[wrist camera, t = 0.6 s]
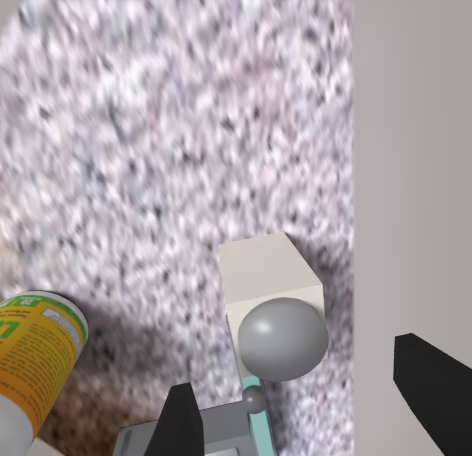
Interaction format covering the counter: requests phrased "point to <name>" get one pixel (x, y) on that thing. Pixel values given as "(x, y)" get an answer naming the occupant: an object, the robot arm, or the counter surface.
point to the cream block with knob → (273, 308)
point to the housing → (205, 430)
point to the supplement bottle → (34, 362)
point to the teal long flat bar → (257, 413)
